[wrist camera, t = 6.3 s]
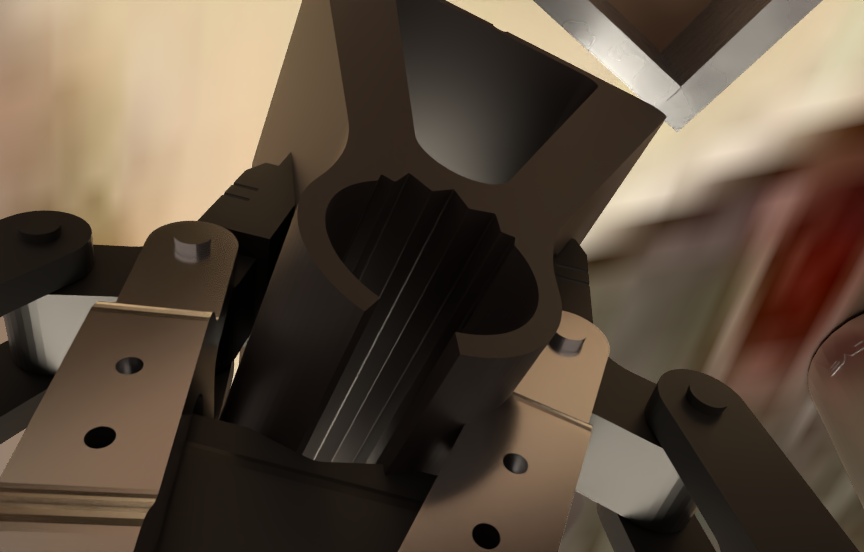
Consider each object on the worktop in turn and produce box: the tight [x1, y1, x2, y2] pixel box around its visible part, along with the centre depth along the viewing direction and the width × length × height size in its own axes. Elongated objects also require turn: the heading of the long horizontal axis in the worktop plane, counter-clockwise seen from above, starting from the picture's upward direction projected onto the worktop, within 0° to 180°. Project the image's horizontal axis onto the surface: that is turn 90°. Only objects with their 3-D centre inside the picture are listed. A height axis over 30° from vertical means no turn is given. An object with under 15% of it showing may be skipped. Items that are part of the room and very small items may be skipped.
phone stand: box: [219, 0, 666, 476], centre depth 12 cm, size 9×6×12 cm, turn 66°
